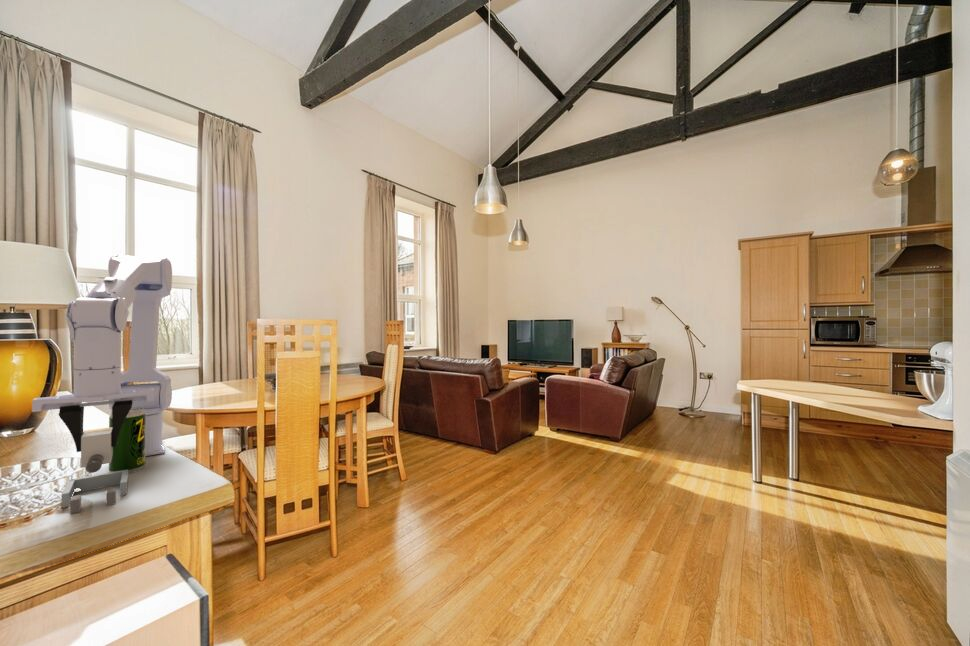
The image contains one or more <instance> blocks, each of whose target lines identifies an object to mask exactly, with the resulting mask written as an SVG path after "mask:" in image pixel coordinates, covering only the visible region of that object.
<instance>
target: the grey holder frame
mask: <svg viewBox="0 0 970 646" xmlns="http://www.w3.org/2000/svg"><path fill="white" fill-rule="evenodd" d="M117 485H120V486H119V488H120V489H119V490H120V491H119V492H120V493H119V495H120V497H122V496H127V495H128V485H129V473H128V469H127V470H121V471H116V472H110V471H109V472H106V473H100V474H95V475H94V474H93V475H89V476H82V477H78V478H73V479H67V482H66V485H65V487H64V489H63V491H62V493H61V509H64V508H69V507H70V509H69V513H70V514H71V515H72V514H76V513H80V512H81V509H82V494H77V495H74V496H72V494H73V492H74V489H76V488H80V489H81V492H87V491H91V490H95V489H102V488H106V487H113V486H117ZM116 489H117V488H116V487H113V488H108V489H107V490H106V499H105V500H106V507H108V506H112V505H116V499H117V497H116V496H117V495H116V493H117V491H116ZM71 497H72V498H71Z"/></svg>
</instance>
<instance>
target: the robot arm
mask: <svg viewBox="0 0 970 646" xmlns="http://www.w3.org/2000/svg"><path fill="white" fill-rule="evenodd" d="M171 263H172V262H171V261H170V260H169V259H168V258H167V257H163V256H162V257H152V256H138V255H137V256H135V255H121V254H118V253H117V254H115V253H114V254H112V256H111V257H110V258H109V260H108V268H107V269H108V275H109V276H108V277H104V279H102V280H100V281H99V282H98V283H97V284H96V285H95V286H94V287H93V288H92V289H91V290H90V292H89V293H87V295H86V296H85V297H78V298H76V299H75V300H71V301H69V303H68V305H67V306H66V307H67V308H66V313H65V321H66V324H67V327H68V330H69V339H70V342H73V393H72V394H65V395H64V394H63V395H56V396H55V395H53V396H46V397H35V398H33V399H32V400H31V412H32V413H36V412H43V411H50V410H51V411H52V410H53V411H54V410H58V411H59V412H58V416H59V418H60V419H61V420H62V422H63V423H64V425H65V426H66V427H67V429H68V431H69V433H70V434H71V435H70V436H71V438H72V439H73V441H74V444H75V449H76V453H79V452H80V453H81V437H82V435H83V433H84V414H85V413H84V411H85V407H93V406H95V407H96V406H104V405H108V407H109V410H110V412H111V411H112V437H111V447H115V446H117V440H118V435H119V432H120V429H121V427H122V425H123V422H124V420H125V418H126V416H127V415H128V413H129V411H130V409H131V408H133V407H142V408H144V411H145V413H146V431H145V457H149V456H154V455H161V454H165V453H166V449H165V448H164V449H163V447H162V446H164V447H165V441H164V440H163V415H164V413H163V412H164V411H165V410H167V409H168V408H169V407H170V406H171V404H172V398H173V396H172V395H173V392H172V390H173V389H172V384H171V383H172V380H171V378H170V376H169V375H168V374H167V373H166V372H165V373H164V372H163V371H161V370H159V369H158V368H157V361H158V360H157V358H158V356H157V355H158V339H159V319H160V318H159V317H160V306H161V302H162V299H163V298H165V297H168V296H171V291H172V288H173V287H172V284H173V283H172V281H173V268H172V267H173V266H172V264H171ZM130 306H132V309H131V310H132V311H131V328H130V341H129V342H130V343H129V344H130V345H129V357H128V369H127V370H126V371H125V372H123V373H122V368H121V367H122V332H123V331H124V330H125V329H126V326H127V324H128V323H127V322H128V317H129V314H130V311H129V308H130ZM145 382H149V383H145ZM150 382H154V383H150ZM131 383H133V384H131ZM135 383H136V384H135ZM161 445H162V446H161Z"/></svg>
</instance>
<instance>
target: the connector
mask: <svg viewBox="0 0 970 646" xmlns="http://www.w3.org/2000/svg"><path fill="white" fill-rule="evenodd" d="M111 437H112V427H110V428H109V427H103V428H96V429H88V430H83V435H82V437H81V452H80V468H81V469H82V468H85V471H86V472H87V473H89V474H93V473H96V472H99V471H100V470H101V468H102V466H103V465H106V464H109V463H111V460H112V456H113V447H111Z"/></svg>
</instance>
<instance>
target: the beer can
mask: <svg viewBox="0 0 970 646" xmlns="http://www.w3.org/2000/svg"><path fill="white" fill-rule="evenodd" d="M108 419H109V420H108V428H110V427H112V411H111V410H110V415H109V417H108ZM145 431H146V413H145V411H144V408H142V407H133V408H131V409H130V411H129V413H128V415H127V416H126V418H125V420H124V422H123V425H122V427H121V429H120V432H119V435H118V440H117V446H115V447H113V456H112V460H111V463H108V471H109V473H110V472H116V471H121V470H127V469H128V474H132V473H136V472H139V471H141V470H142V469H144V467H145V465H146V456H145Z"/></svg>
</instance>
